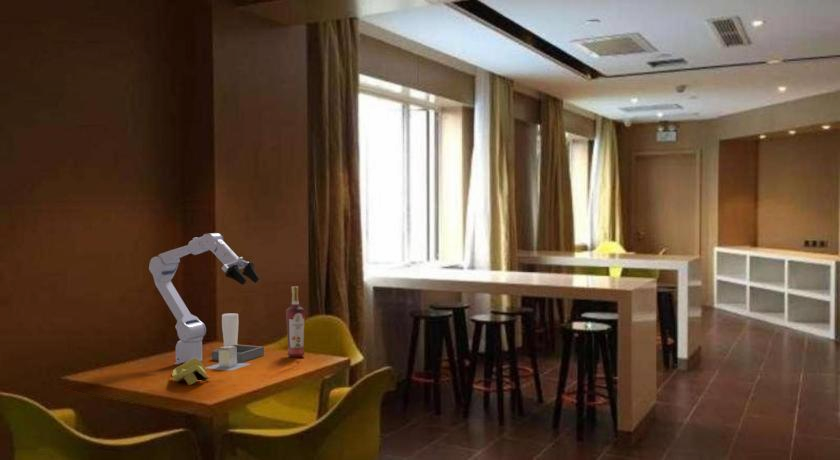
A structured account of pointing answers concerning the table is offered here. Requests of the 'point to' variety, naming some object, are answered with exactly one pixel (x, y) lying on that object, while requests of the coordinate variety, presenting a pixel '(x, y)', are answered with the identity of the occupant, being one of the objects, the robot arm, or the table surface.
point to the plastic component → (189, 371)
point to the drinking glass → (230, 328)
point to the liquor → (295, 327)
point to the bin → (243, 353)
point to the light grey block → (227, 356)
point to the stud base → (226, 367)
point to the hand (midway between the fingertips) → (251, 281)
